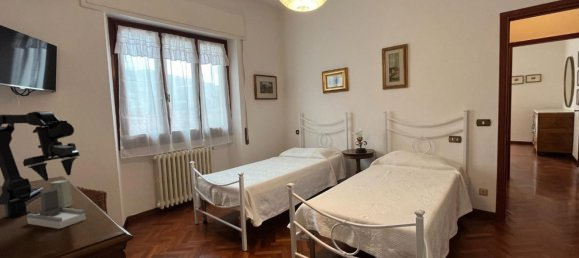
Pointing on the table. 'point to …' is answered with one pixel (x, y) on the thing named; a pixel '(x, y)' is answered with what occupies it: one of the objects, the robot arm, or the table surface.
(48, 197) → the slider
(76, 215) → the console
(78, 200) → the table surface
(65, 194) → the skincare box
